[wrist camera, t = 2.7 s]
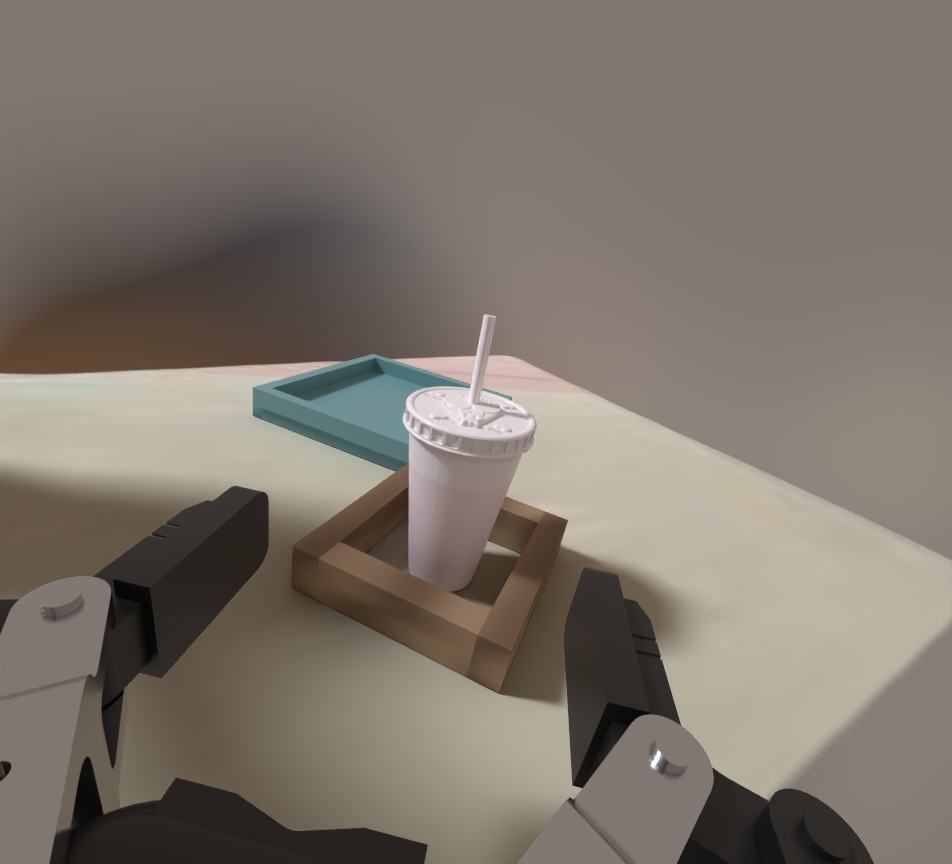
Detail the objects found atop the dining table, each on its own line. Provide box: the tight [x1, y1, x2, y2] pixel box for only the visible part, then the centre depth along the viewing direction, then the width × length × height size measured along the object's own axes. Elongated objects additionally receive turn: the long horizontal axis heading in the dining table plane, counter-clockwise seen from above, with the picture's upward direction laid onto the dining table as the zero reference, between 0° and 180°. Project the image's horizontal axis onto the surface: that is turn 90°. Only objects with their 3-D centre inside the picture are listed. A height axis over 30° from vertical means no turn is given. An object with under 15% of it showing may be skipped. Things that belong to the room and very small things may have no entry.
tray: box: [253, 354, 512, 471], centre depth 43 cm, size 17×17×2 cm
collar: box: [292, 463, 568, 693], centre depth 25 cm, size 11×11×2 cm
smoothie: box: [403, 315, 536, 592], centre depth 23 cm, size 6×6×14 cm
